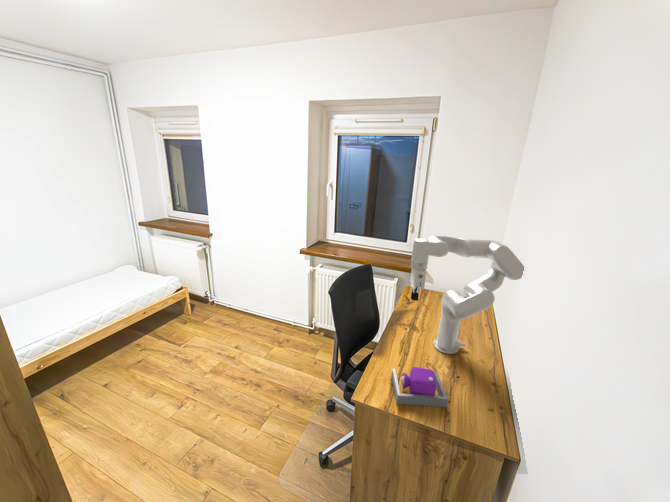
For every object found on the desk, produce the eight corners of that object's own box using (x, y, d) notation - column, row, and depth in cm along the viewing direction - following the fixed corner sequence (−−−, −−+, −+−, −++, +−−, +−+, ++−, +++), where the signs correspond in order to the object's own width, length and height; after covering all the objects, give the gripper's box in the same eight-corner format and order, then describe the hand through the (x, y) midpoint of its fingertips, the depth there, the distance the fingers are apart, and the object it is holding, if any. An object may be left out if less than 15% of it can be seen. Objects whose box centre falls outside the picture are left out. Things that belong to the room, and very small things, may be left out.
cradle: (435, 379, 126) (436, 371, 125) (446, 407, 111) (448, 399, 110) (391, 376, 127) (392, 368, 125) (396, 403, 112) (397, 395, 111)
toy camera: (397, 382, 123) (400, 363, 120) (429, 383, 123) (432, 364, 120) (403, 402, 113) (406, 381, 110) (437, 403, 113) (441, 383, 110)
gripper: (431, 270, 128) (425, 307, 133) (423, 260, 142) (418, 293, 147) (414, 269, 128) (409, 306, 133) (408, 259, 142) (403, 292, 147)
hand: (414, 299), depth 140 cm, fingers closed
